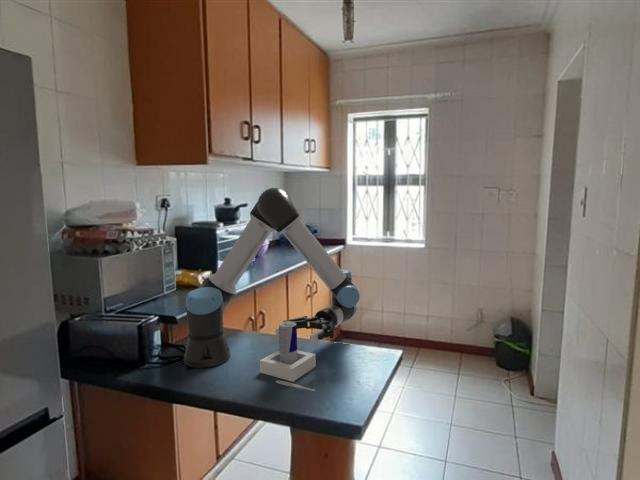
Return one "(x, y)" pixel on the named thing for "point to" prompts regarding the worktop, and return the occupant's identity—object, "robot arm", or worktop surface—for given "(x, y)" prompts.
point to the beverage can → (288, 342)
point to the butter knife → (293, 385)
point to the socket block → (286, 371)
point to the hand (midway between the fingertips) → (293, 336)
